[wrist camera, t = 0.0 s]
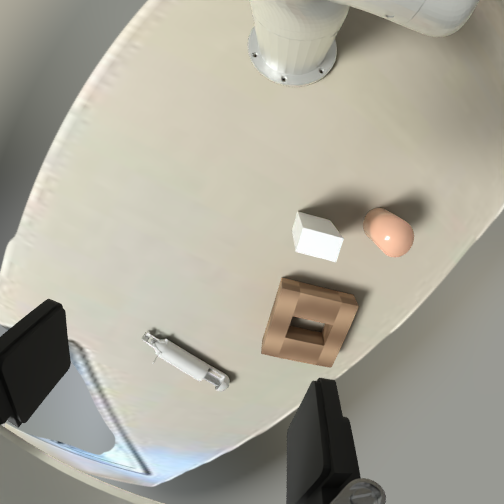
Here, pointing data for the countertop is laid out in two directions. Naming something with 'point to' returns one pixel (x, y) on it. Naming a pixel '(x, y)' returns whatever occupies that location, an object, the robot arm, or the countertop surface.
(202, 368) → the white long slotted part
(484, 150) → the countertop surface
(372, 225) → the round peg
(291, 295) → the slot block
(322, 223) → the flat bar peg
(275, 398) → the countertop surface
